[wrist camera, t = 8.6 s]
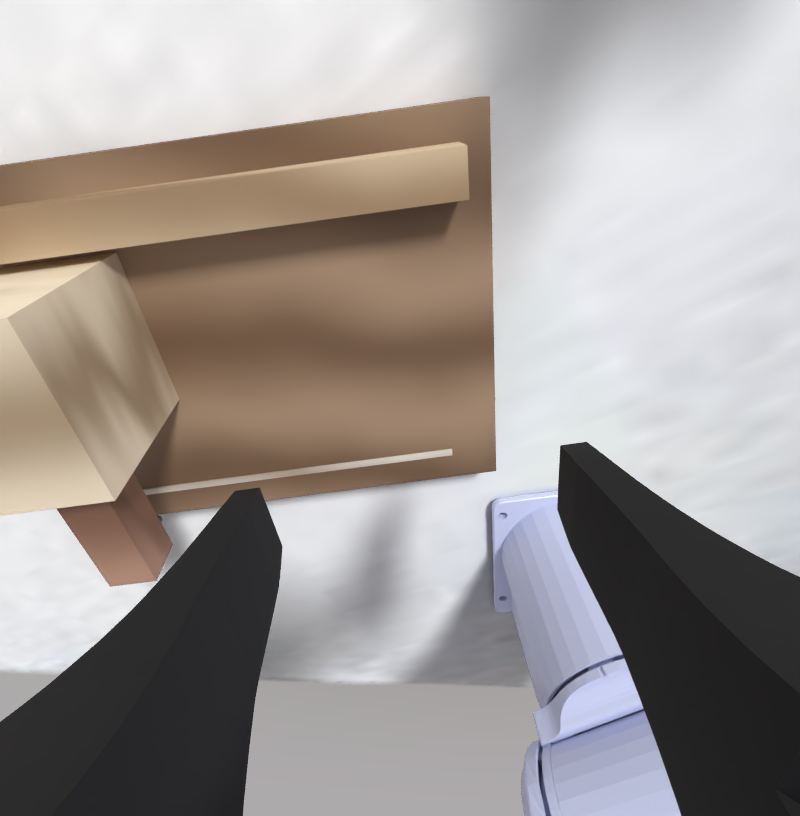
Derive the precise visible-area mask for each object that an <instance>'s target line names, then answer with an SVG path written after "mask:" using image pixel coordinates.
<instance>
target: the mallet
mask: <svg viewBox="0 0 800 816" xmlns="http://www.w3.org/2000/svg"><path fill="white" fill-rule="evenodd" d="M178 401H179V397H178V395H177V393H176V390H175V388H174V386H173V383H172V381H171V379H170V376H169V374H168V372H167V369H166V367H165V365H164V362H163V360H162V358H161V356H160V353H159V351H158V349H157V346H156V344H155V342H154V339H153V337H152V335H151V332H150V330H149V328H148V325H147V323H146V321H145V318H144V316H143V314H142V311H141V309H140V307H139V304H138V302H137V300H136V297H135V295H134V293H133V290H132V288H131V286H130V283H129V281H128V279H127V276H126V274H125V272H124V269H123V267H122V265H121V262H120V260H119V258H118V255H117V253H116V252H115V253H108V254H101V255H93V256H86V257H79V258H72V259H65V260H57V261H50V262H43V263H36V264H28V265H21V266H14V267H7V268H2V269H0V516H3V515H11V514H18V513H26V512H34V511H41V510H49V509H57V510H58V512H59V513H60V514H61V516H62V517H63V519H64V520H65V522H66V523H67V525H68V526H69V528H70V529H71V530H72V532H73V533H74V535H75V536H76V538H77V539H78V541H79V542H80V543H81V545H82V546H83V548H84V549H85V551H86V552H87V554H88V555H89V557H90V558H91V559H92V561H93V562H94V564H95V565H96V567H97V568H98V570H99V571H100V573H101V574H102V575H103V577H104V578H105V580H106V581H107V583H108V584H109V586H110V587H111V586H119V585H126V584H134V583H142V582H150V581H157V578H158V576H159V574H160V572H161V569H162V567H163V565H164V562H165V560H166V558H167V556H168V553H169V551H170V549H171V547H172V542H171V541H170V539H169V537H168V535H167V533H166V531H165V530H164V528H163V526H162V524H161V522H162V518H161V517H160V516H158V515H156V513H155V511H154V509H153V507H152V505H151V504H150V502H149V500H148V498H147V496H146V494H145V493H144V491H143V489H142V487H141V485H140V483H139V481H138V480H137V478H136V476H135V474H134V470H135V469H136V467H137V466H138V464H139V463H140V461H141V459H142V458H143V456H144V455H145V453H146V451H147V450H148V448H149V447H150V445H151V444H152V442H153V440H154V439H155V437H156V436H157V434H158V432H159V431H160V429H161V428H162V426H163V425H164V423H165V421H166V420H167V418H168V417H169V415H170V414H171V412H172V410H173V409H174V407H175V406H176V404H177V402H178Z"/></svg>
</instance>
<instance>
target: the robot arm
mask: <svg viewBox="0 0 800 816" xmlns="http://www.w3.org/2000/svg"><path fill="white" fill-rule="evenodd" d="M500 513H504V514H501V515H500ZM492 541H493V582H494V606H495V610H496V611H497V612H499V613H508V612H513V616H514V619H515V623H516V626H517V630H518V634H519V637H520V641H521V644H522V648H523V651H524V655H525V658H526V662H527V665H528V669H529V672H530V676H531V680H532V683H533V687H534V690H535V694H536V697H537V700H538V702H539V705H540V707H541V709H540V710H537V711H535V712H534V713H533V717H534V720H535V724H536V728H537V732H538V735H539V739H540V740H537V741H534V742H532V743H531V744H530V745H529V746H528V748H527V751H526V754H525V758H524V767H523V771H522V776H521V795H522V803H523V811H524V816H800V577H798V576H796V575H794V574H792V573H790V572H788V571H786V570H784V569H781V568H779V567H777V566H775V565H773V564H771V563H770V562H768V561H766V560H764V559H762V558H760V557H758V556H756V555H754V554H752V553H751V552H749V551H747V550H745V549H743V548H742V547H740V546H738V545H736V544H734V543H733V542H731V541H729V540H727V539H725V538H724V537H722V536H720V535H718V534H717V533H715V532H713V531H712V530H710V529H708V528H707V527H705V526H703V525H702V524H700V523H699V522H697V521H696V520H694V519H693V518H691V517H689V516H688V515H686V514H685V513H683V512H682V511H680V510H678V509H677V508H675V507H674V506H673V505H671V504H670V503H668V502H667V501H665V500H664V499H662V498H661V497H659V496H658V495H657V494H655V493H654V492H652V491H651V490H650V489H648V488H647V487H645V486H644V485H643V484H641V483H640V482H638V481H637V480H636V479H634V478H633V477H632V476H630V475H629V474H628V473H626V472H625V471H624V470H622V469H621V468H620V467H619V466H617V465H616V464H615V463H613V462H612V461H611V460H609V459H608V458H607V457H606V456H604V455H603V454H602V453H600V452H599V451H598V450H597V449H595V448H594V447H593V446H591V445H590V444H589V443H587V442H583V443H576V444H569V445H561V446H560V465H559V484H558V491H551V492H544V493H536V494H528V495H520V496H512V497H505V498H499V499H496V500H495V501H494V502H493V503H492ZM281 557H282V544H281V542H280V539H279V537H278V534H277V531H276V529H275V526H274V523H273V521H272V518H271V516H270V513H269V510H268V508H267V505H266V503H265V500H264V497H263V495H262V492H261V489H260V487H259V488H252V489H244V490H237V491H234V492H233V494H232V495H231V496H230V497H229V498H228V500H227V501H226V502H225V503H224V504H223V506H222V507H221V508H220V509H219V511H218V512H217V513H216V514H215V516H214V517H213V518H212V519H211V521H210V522H209V523H208V524H207V526H206V527H205V528H204V529H203V531H202V532H201V533H200V534H199V535H198V537H197V538H196V539H195V540H194V542H193V543H192V544H191V545H190V546H189V548H188V549H187V550H186V551H185V552H184V554H183V555H182V556H181V557H180V558H179V559H178V561H177V562H176V563H175V564H174V565H173V566H172V567H171V568H170V569H169V571H168V572H167V573H166V574H165V575H164V576H163V577H162V578H161V579H160V581H159V582H158V583H157V584H156V585H155V586H154V587H153V588H152V589H151V590H150V592H149V593H148V594H147V595H146V596H145V597H144V598H143V599H142V600H141V601H140V602H139V603H138V604H137V605H136V606H135V607H134V608H133V609H132V610H131V611H130V612H129V613H128V614H127V615H126V616H125V617H124V618H123V619H122V620H121V621H120V622H119V623H118V624H117V625H116V626H115V627H114V628H113V629H112V630H111V631H109V632H108V633H107V634H106V635H105V636H104V637H103V638H102V639H101V640H100V641H99V642H98V643H97V644H95V645H94V646H93V647H92V648H91V649H90V650H88V651H87V652H86V653H85V654H84V655H83V656H81V657H80V658H79V659H78V660H77V661H76V662H74V663H73V664H72V665H71V666H70V667H69V668H67V669H66V670H65V671H64V672H63V673H62V674H60V675H59V676H58V677H57V678H56V679H55V680H54V681H52V682H51V683H50V684H49V685H47V686H46V687H45V688H44V689H42V690H41V691H40V692H39V693H37V694H36V695H35V696H34V697H32V698H31V699H30V700H28V701H27V702H26V703H25V704H23V705H22V706H21V707H19V708H18V709H17V710H15V711H14V712H13V713H11V714H10V715H9V716H8V717H6V718H5V719H3V720H2V721H1V722H0V816H243V804H244V794H245V784H246V773H247V764H248V754H249V744H250V736H251V728H252V720H253V712H254V704H255V697H256V692H257V686H258V680H259V676H260V671H261V667H262V662H263V658H264V653H265V648H266V644H267V639H268V635H269V630H270V626H271V621H272V617H273V612H274V607H275V603H276V598H277V593H278V588H279V580H280V570H281Z"/></svg>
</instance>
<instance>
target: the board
mask: <svg viewBox="0 0 800 816" xmlns="http://www.w3.org/2000/svg"><path fill="white" fill-rule="evenodd" d="M115 252H116V253H117V255H118V258H119V260H120V262H121V265H122V267H123V269H124V272H125V274H126V276H127V279H128V281H129V283H130V286H131V288H132V290H133V293H134V295H135V297H136V300H137V302H138V304H139V307H140V309H141V311H142V314H143V316H144V318H145V321H146V323H147V325H148V328H149V330H150V332H151V335H152V337H153V339H154V342H155V344H156V346H157V349H158V351H159V353H160V356H161V358H162V360H163V362H164V365H165V367H166V369H167V372H168V374H169V376H170V379H171V381H172V383H173V386H174V388H175V390H176V393H177V395H178V397H179V401H178V402H177V404H176V406H175V407H174V409H173V410H172V412H171V414H170V415H169V417H168V418H167V420H166V421H165V423H164V425H163V426H162V428H161V429H160V431H159V432H158V434H157V436H156V437H155V439H154V440H153V442H152V444H151V445H150V447H149V448H148V450H147V451H146V453H145V455H144V456H143V458H142V459H141V461H140V463H139V464H138V466H137V467H136V469H135V470H134V474H135V476H136V478H137V480H138V481H139V483H140V485H141V487H142V489H143V491H144V493H145V494H146V496H147V498H148V500H149V502H150V504H151V505H152V507H153V509H154V511H155V513H156V515H158V514H166V513H173V512H181V511H189V510H197V509H204V508H212V507H220V506H223V504H224V503H225V502H226V501H227V500H228V498H229V497H230V496H231V495H232V494H233V492H234V491H237V490H244V489H252V488H259V487H260V489H261V492H262V495H263V497H264V500H265V501H266V500H274V499H282V498H290V497H297V496H305V495H313V494H321V493H328V492H336V491H344V490H352V489H359V488H367V487H375V486H382V485H390V484H398V483H406V482H413V481H421V480H429V479H437V478H444V477H452V476H460V475H468V474H475V473H483V472H491V471H496V442H495V384H494V325H493V267H492V209H491V151H490V97H476V98H469V99H462V100H455V101H448V102H441V103H434V104H427V105H420V106H413V107H406V108H399V109H392V110H385V111H378V112H371V113H364V114H357V115H349V116H342V117H335V118H328V119H321V120H314V121H307V122H300V123H293V124H286V125H279V126H272V127H265V128H258V129H251V130H244V131H237V132H230V133H223V134H216V135H209V136H202V137H195V138H188V139H181V140H174V141H167V142H160V143H153V144H146V145H139V146H132V147H124V148H117V149H110V150H103V151H96V152H89V153H82V154H75V155H68V156H61V157H54V158H47V159H40V160H33V161H26V162H19V163H12V164H5V165H0V269H2V268H7V267H14V266H21V265H28V264H36V263H43V262H50V261H57V260H65V259H72V258H79V257H86V256H93V255H101V254H108V253H115Z"/></svg>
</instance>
